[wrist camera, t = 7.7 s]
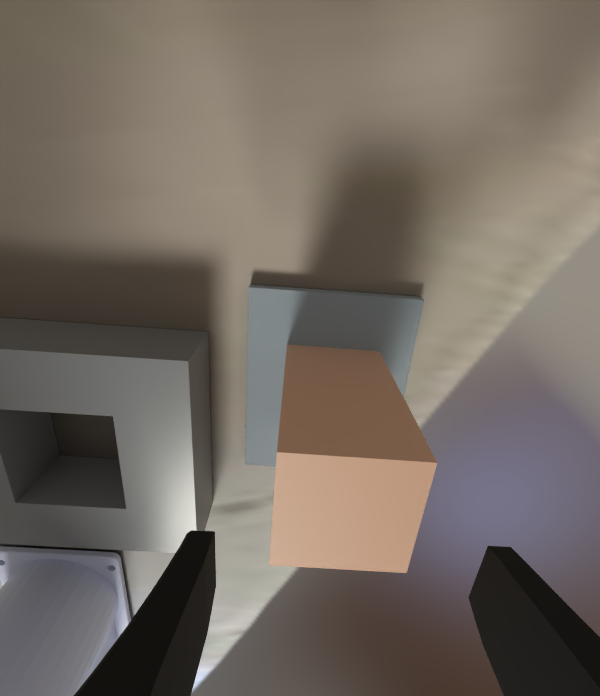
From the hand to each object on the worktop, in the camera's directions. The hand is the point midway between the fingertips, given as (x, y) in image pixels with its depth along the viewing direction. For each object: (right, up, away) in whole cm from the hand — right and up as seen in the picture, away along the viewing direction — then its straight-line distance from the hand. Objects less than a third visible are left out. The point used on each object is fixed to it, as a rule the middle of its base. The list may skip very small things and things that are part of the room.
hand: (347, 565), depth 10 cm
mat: (0, +4, +9) cm, 10 cm away
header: (-14, +2, +10) cm, 18 cm away
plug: (0, +4, +9) cm, 10 cm away
